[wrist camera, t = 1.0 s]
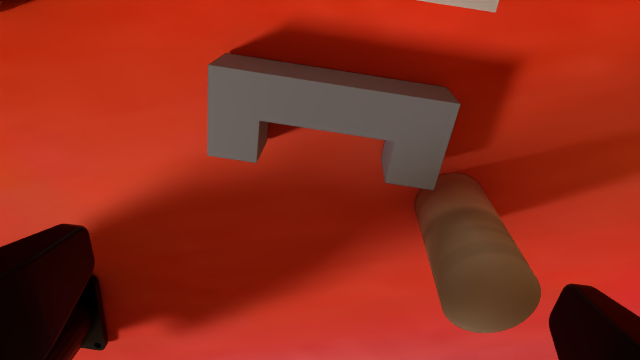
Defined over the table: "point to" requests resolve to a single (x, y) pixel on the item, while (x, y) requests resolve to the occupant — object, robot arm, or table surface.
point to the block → (329, 112)
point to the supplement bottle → (9, 4)
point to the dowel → (474, 257)
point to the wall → (470, 4)
